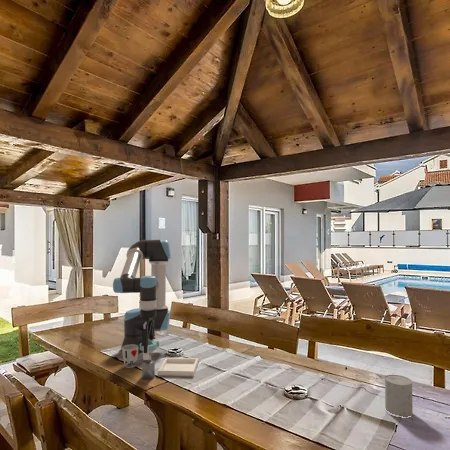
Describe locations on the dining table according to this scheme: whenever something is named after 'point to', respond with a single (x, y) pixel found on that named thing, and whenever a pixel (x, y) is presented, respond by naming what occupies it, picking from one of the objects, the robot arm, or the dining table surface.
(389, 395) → the grey cylinder
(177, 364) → the tray
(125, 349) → the cup
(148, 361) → the grey bottle
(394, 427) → the dining table surface
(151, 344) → the ring
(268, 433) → the dining table surface
